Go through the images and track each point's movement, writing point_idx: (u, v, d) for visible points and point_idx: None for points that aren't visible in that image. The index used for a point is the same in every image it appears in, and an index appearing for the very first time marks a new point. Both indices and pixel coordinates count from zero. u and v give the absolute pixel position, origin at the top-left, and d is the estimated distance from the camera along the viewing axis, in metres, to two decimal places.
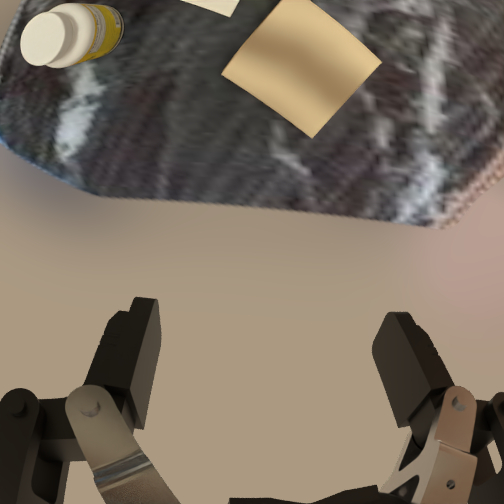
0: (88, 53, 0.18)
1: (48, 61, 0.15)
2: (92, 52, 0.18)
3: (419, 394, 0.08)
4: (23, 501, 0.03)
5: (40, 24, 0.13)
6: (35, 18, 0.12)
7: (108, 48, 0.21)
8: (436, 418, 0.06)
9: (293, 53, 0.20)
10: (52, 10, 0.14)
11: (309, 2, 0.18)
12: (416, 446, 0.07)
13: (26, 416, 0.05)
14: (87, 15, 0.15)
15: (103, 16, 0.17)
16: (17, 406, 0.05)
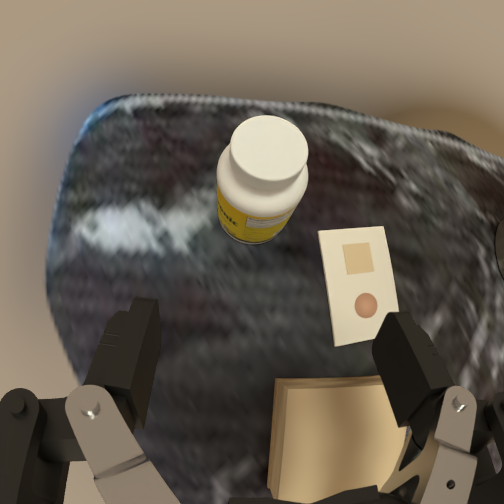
0: (247, 217, 0.18)
1: (243, 167, 0.15)
2: (246, 221, 0.19)
3: (419, 394, 0.08)
4: (23, 501, 0.03)
5: (288, 137, 0.16)
6: (293, 127, 0.16)
7: (245, 236, 0.22)
8: (436, 418, 0.06)
9: (352, 433, 0.18)
10: None
11: None
12: (416, 446, 0.07)
13: (26, 416, 0.05)
14: (301, 195, 0.18)
15: (291, 214, 0.20)
16: (16, 406, 0.05)
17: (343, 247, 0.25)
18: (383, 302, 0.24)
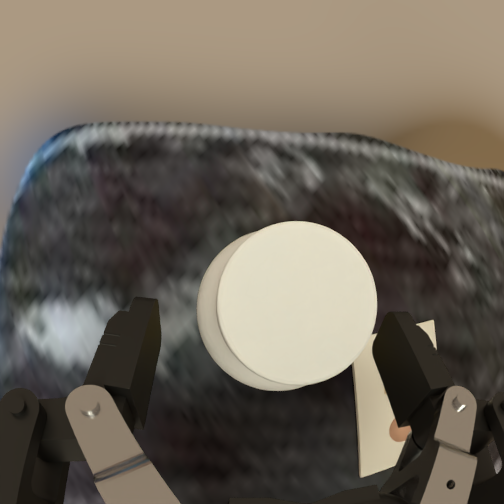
0: None
1: (245, 362, 0.07)
2: None
3: (419, 394, 0.08)
4: (23, 501, 0.03)
5: (340, 277, 0.07)
6: (350, 250, 0.08)
7: None
8: (436, 418, 0.06)
9: None
10: None
11: None
12: (416, 446, 0.07)
13: (26, 416, 0.05)
14: None
15: None
16: (17, 406, 0.05)
17: None
18: None
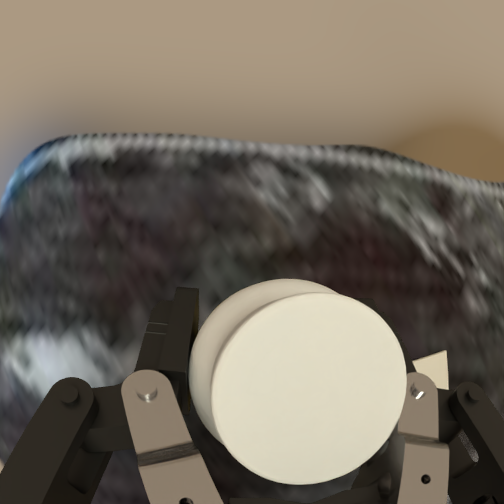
0: None
1: (247, 465, 0.05)
2: None
3: None
4: (55, 489, 0.04)
5: (366, 362, 0.06)
6: (379, 326, 0.06)
7: None
8: None
9: None
10: None
11: None
12: None
13: (80, 405, 0.06)
14: None
15: None
16: (69, 395, 0.06)
17: None
18: None
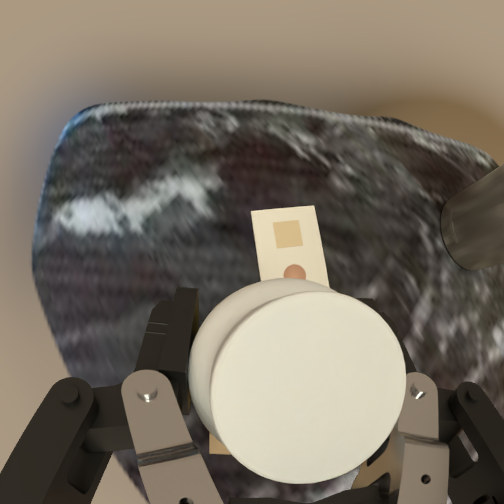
0: None
1: (247, 464, 0.05)
2: None
3: None
4: (55, 489, 0.04)
5: (365, 361, 0.06)
6: (378, 325, 0.06)
7: None
8: None
9: None
10: None
11: None
12: None
13: (80, 405, 0.06)
14: None
15: None
16: (69, 395, 0.06)
17: (273, 224, 0.29)
18: (311, 273, 0.28)
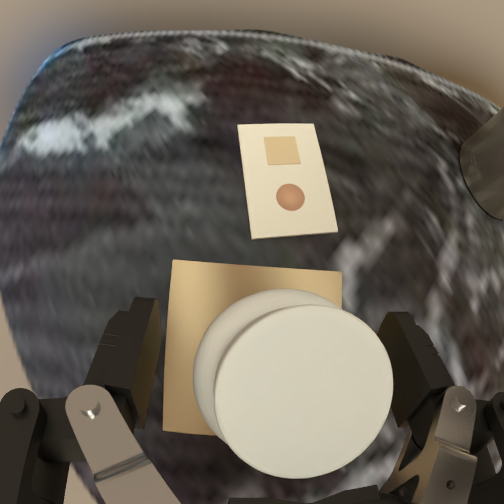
0: None
1: (247, 460, 0.06)
2: None
3: (419, 394, 0.08)
4: (23, 501, 0.03)
5: (355, 368, 0.06)
6: (367, 335, 0.06)
7: None
8: (436, 418, 0.06)
9: None
10: None
11: (339, 301, 0.17)
12: (416, 446, 0.07)
13: (26, 416, 0.05)
14: None
15: None
16: (17, 406, 0.05)
17: (264, 139, 0.23)
18: (312, 196, 0.22)
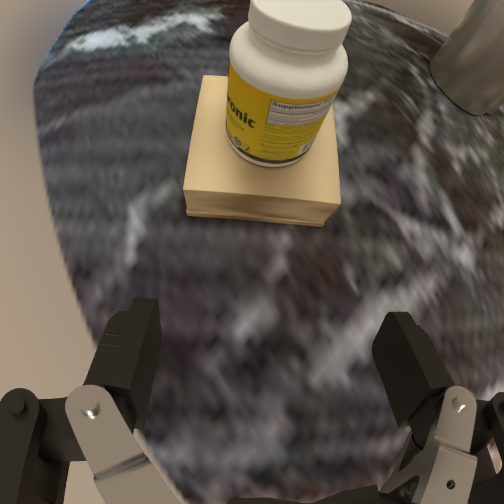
0: (270, 102, 0.12)
1: (270, 15, 0.09)
2: (268, 112, 0.13)
3: (419, 394, 0.08)
4: (23, 501, 0.03)
5: None
6: None
7: (263, 149, 0.16)
8: (436, 418, 0.06)
9: None
10: None
11: None
12: (416, 446, 0.07)
13: (26, 416, 0.05)
14: (342, 76, 0.12)
15: (325, 114, 0.14)
16: (17, 406, 0.05)
17: None
18: None
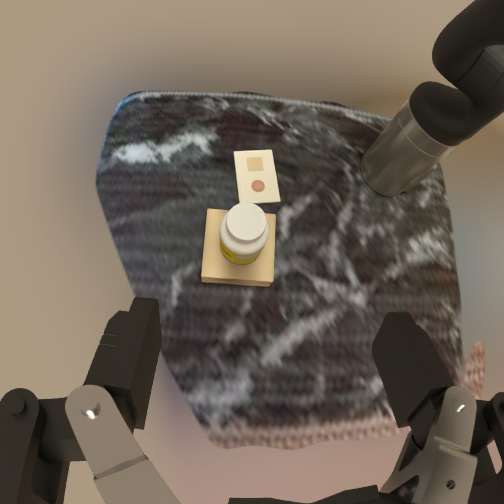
0: (236, 254, 0.34)
1: (233, 233, 0.31)
2: (236, 256, 0.35)
3: (419, 394, 0.08)
4: (23, 501, 0.03)
5: (256, 215, 0.32)
6: (259, 209, 0.32)
7: (235, 262, 0.38)
8: (436, 418, 0.06)
9: None
10: None
11: (274, 225, 0.42)
12: (416, 446, 0.07)
13: (26, 416, 0.05)
14: (264, 243, 0.34)
15: (261, 250, 0.36)
16: (17, 406, 0.05)
17: (246, 159, 0.48)
18: (268, 185, 0.47)
